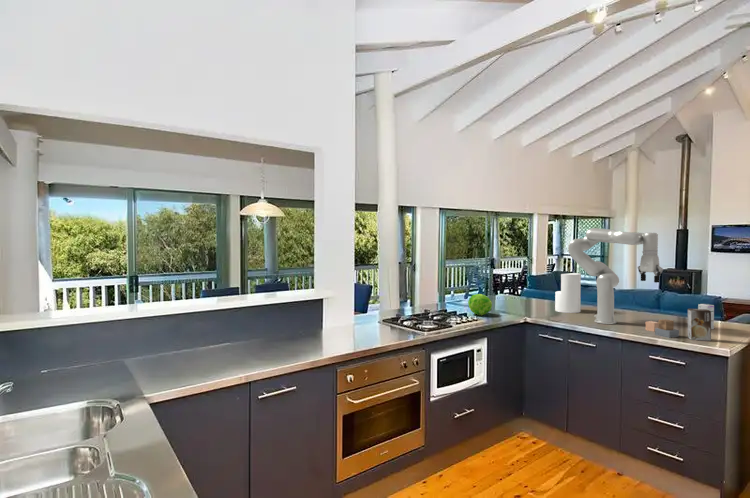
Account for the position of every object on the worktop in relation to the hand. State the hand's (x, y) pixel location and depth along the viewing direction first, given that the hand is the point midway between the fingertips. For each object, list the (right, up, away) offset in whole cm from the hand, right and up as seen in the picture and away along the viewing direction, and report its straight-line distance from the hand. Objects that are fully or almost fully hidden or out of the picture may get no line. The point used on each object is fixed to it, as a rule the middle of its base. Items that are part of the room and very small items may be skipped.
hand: (649, 281), depth 267 cm
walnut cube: (-3, -25, -19) cm, 32 cm away
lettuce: (-90, -28, +51) cm, 107 cm away
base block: (-2, -29, -19) cm, 35 cm away
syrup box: (+33, -28, 0) cm, 44 cm away
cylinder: (-21, -27, +64) cm, 73 cm away
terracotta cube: (-2, -29, -5) cm, 29 cm away
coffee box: (+9, -29, -28) cm, 41 cm away
